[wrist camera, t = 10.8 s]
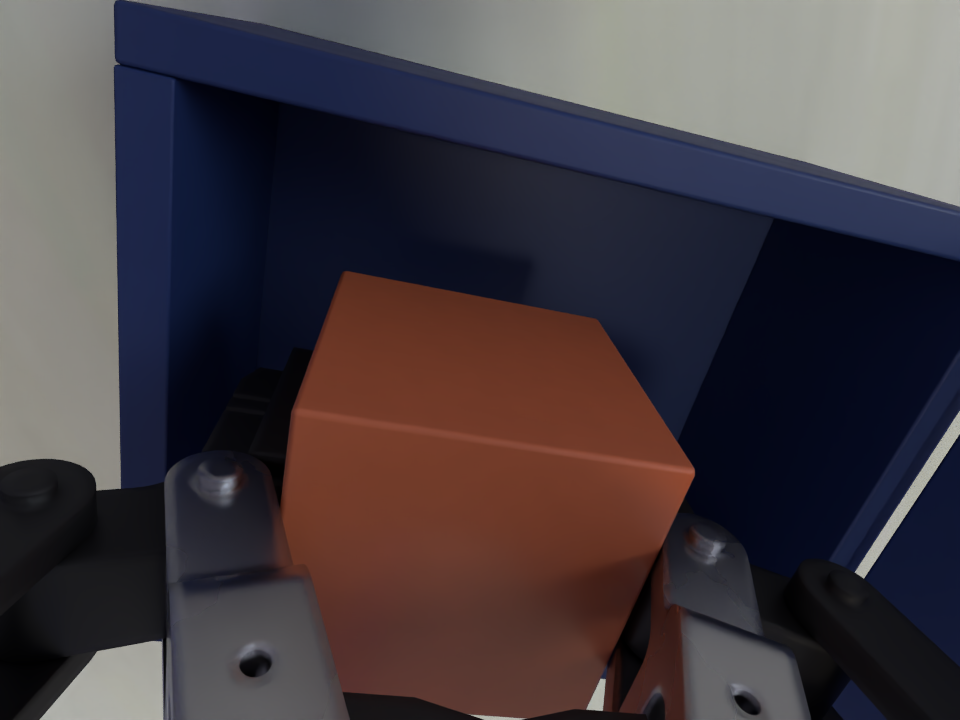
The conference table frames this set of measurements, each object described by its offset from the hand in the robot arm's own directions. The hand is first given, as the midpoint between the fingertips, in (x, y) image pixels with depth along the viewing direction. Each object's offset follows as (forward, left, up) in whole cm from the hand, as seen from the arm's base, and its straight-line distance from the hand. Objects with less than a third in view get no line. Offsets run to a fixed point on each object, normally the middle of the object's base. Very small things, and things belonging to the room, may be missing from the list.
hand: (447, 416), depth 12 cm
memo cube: (0, 0, 0) cm, 0 cm away
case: (+2, +1, -7) cm, 8 cm away
